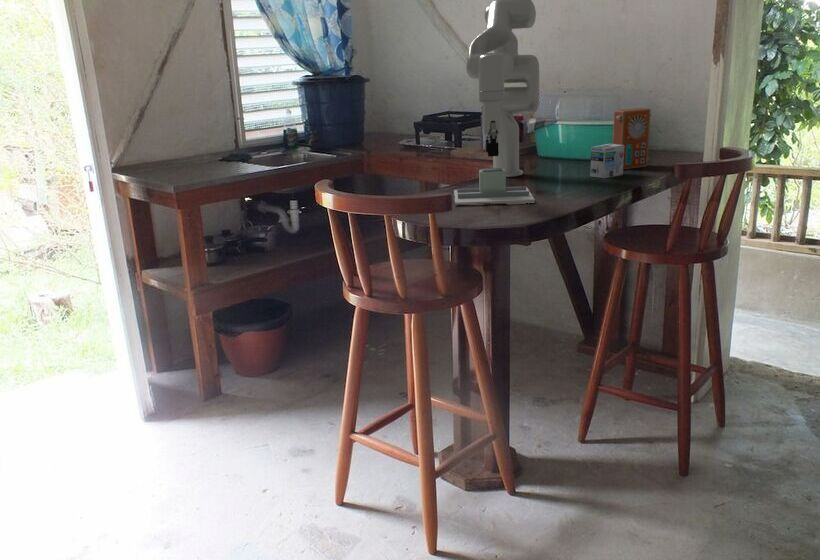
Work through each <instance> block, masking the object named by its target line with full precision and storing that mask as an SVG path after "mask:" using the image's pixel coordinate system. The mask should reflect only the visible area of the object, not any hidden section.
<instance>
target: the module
mask: <svg viewBox="0 0 820 560" xmlns="http://www.w3.org/2000/svg"><path fill="white" fill-rule="evenodd" d="M478 178H479V179H478V181H479V182H478V184H479V185H478V188H479V192H480V193H486V192H506V187H507V183H506V181H507V177H506V171H505V169H502V168H493V167H492V168H491V167H489V168H488V167H487V168H485V167H484V168H482V169H479V170H478Z"/></svg>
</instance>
